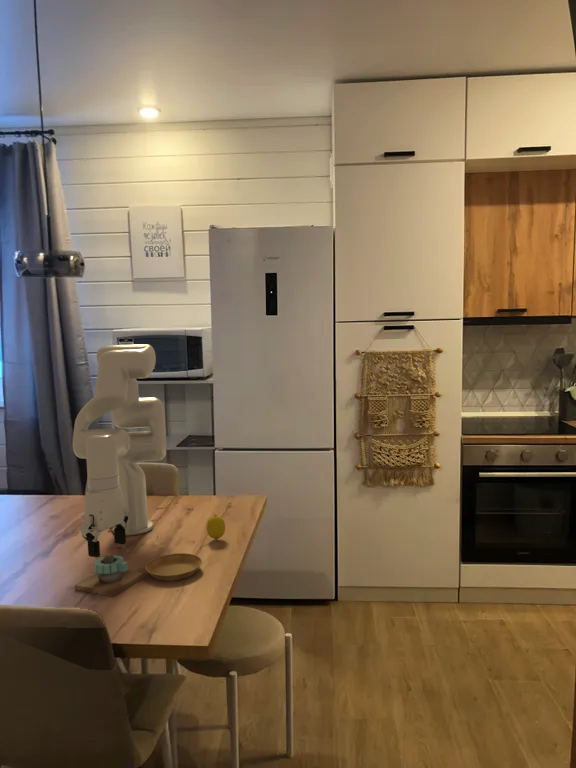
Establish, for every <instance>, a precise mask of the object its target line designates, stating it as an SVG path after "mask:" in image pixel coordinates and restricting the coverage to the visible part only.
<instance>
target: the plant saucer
mask: <svg viewBox="0 0 576 768" xmlns="http://www.w3.org/2000/svg"><path fill="white" fill-rule="evenodd" d="M202 563H203V559H202V558H201V557H200V556H198V555H196V554H192V553H184V552H180V553H176V552H175V553H169V554H164V555H160V556H157V557H154V558H153V559H151V560H150V561H148V562H147V563H146V564H145V567H144V569H145V571H146V572H147V573H148V574H149V575H150V576H152V578H154V579H156V580H157V581H163V582H174V580H175V581H180V579H181V580H184V579H187V578H189V577H191V576H193V575H194V574H195V573H196V571H198V569H199V568H200V567H201V565H202Z"/></svg>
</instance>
